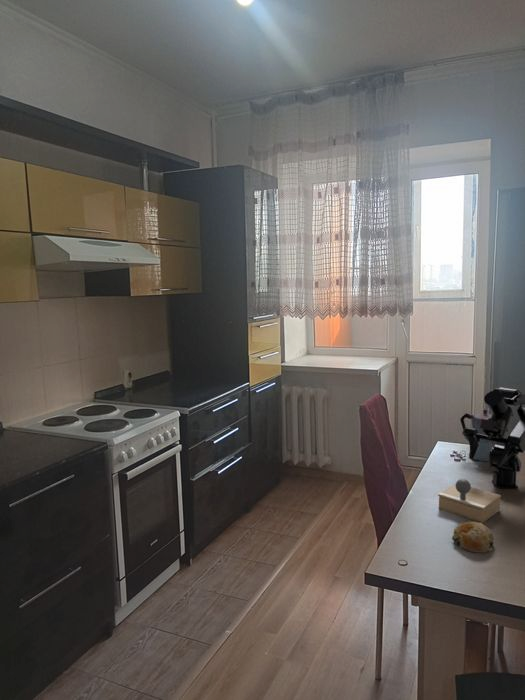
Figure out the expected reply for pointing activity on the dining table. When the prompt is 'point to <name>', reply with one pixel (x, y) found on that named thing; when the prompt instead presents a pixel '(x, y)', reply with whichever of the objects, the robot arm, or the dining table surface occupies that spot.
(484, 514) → the wooden box
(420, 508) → the dining table surface
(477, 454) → the moka pot
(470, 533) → the bread roll
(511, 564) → the dining table surface
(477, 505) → the lid
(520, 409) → the robot arm
